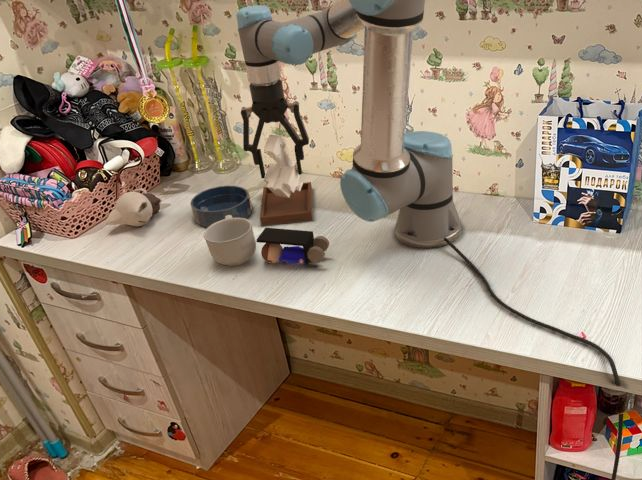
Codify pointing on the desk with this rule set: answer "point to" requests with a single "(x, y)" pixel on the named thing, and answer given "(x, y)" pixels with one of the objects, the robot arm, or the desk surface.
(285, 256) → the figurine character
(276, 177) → the beige irregular angular piece
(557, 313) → the desk surface
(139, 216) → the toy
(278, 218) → the tray
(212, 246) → the teacup
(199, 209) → the bowl
